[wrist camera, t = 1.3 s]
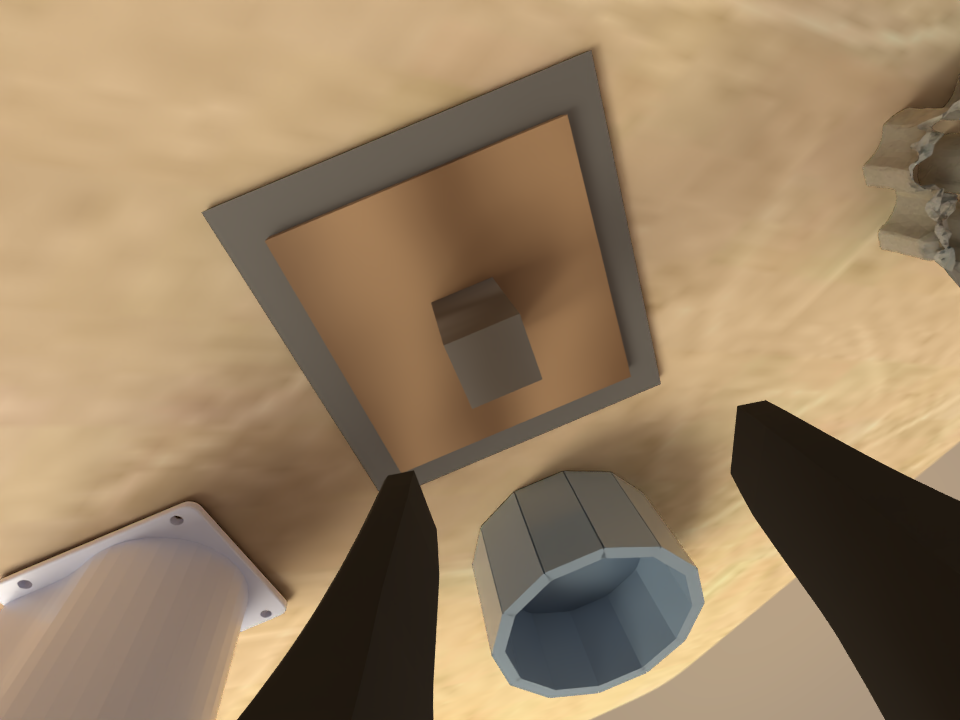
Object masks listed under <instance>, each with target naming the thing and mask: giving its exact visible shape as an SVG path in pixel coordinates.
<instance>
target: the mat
mask: <svg viewBox="0 0 960 720" xmlns="http://www.w3.org/2000/svg"><path fill="white" fill-rule="evenodd" d="M560 115H568V119H569V123H570V127H571V131H572V136H573V140H574V144H575V148H576V152H577V156H578V160H579V164H580V169H581V173H582V177H583V181H584V185H585V189H586V193H587V197H588V202H589V206H590V210H591V214H592V218H593V222H594V226H595V230H596V235H597V239H598V243H599V247H600V251H601V255H602V259H603V263H604V268H605V272H606V276H607V280H608V284H609V288H610V292H611V296H612V301H613V305H614V309H615V313H616V317H617V321H618V325H619V329H620V334H621V338H622V342H623V346H624V350H625V354H626V358H627V362H628V367H629V371H630V375H631V377H629V378H627V379H624V380H622V381H620V382H617V383H615V384H612V385H610V386H608V387H605V388H603V389H601V390H598V391H596V392H593V393H591V394H589V395H586V396H584V397H582V398H579V399H577V400H574V401H572V402H570V403H567V404H565V405H563V406H560V407H558V408H555V409H553V410H551V411H548V412H546V413H544V414H541V415H539V416H536V417H534V418H532V419H529V420H527V421H525V422H522V423H520V424H517V425H515V426H513V427H510V428H508V429H506V430H503V431H501V432H498V433H496V434H494V435H491V436H489V437H487V438H484V439H482V440H479V441H477V442H475V443H472V444H470V445H468V446H465V447H463V448H460V449H458V450H456V451H453V452H451V453H449V454H446V455H444V456H441V457H439V458H437V459H434V460H432V461H429V462H427V463H425V464H422V465H420V466H418V467H415V468H413V469H410V470H408V471H413V470H414V472H415V474H416V477H417V479H418V482H419V485H422V484H425V483H427V482H429V481H432V480H434V479H436V478H439V477H441V476H444V475H446V474H448V473H451V472H453V471H455V470H458V469H460V468H463V467H465V466H467V465H470V464H472V463H474V462H477V461H479V460H482V459H484V458H486V457H489V456H491V455H493V454H496V453H498V452H501V451H503V450H505V449H508V448H510V447H512V446H515V445H517V444H520V443H522V442H524V441H527V440H529V439H531V438H534V437H536V436H539V435H541V434H543V433H546V432H548V431H550V430H553V429H555V428H558V427H560V426H562V425H565V424H567V423H569V422H572V421H574V420H577V419H579V418H581V417H584V416H586V415H588V414H591V413H593V412H596V411H598V410H600V409H603V408H605V407H607V406H610V405H612V404H615V403H617V402H619V401H622V400H624V399H626V398H629V397H631V396H634V395H636V394H638V393H641V392H643V391H645V390H648V389H650V388H653V387H655V386H657V385H660V384H661V383H660V378H659V373H658V368H657V364H656V359H655V354H654V349H653V344H652V340H651V335H650V330H649V325H648V320H647V316H646V311H645V306H644V301H643V296H642V291H641V287H640V282H639V277H638V272H637V267H636V263H635V258H634V253H633V248H632V243H631V239H630V234H629V229H628V224H627V219H626V215H625V210H624V205H623V200H622V195H621V191H620V186H619V181H618V176H617V171H616V167H615V162H614V157H613V152H612V147H611V143H610V138H609V133H608V128H607V123H606V119H605V114H604V109H603V104H602V99H601V95H600V90H599V85H598V80H597V75H596V71H595V66H594V61H593V56H592V51H591V50H590V51H587V52H585V53H582V54H580V55H578V56H575V57H573V58H570V59H568V60H566V61H563V62H561V63H558V64H556V65H554V66H551V67H549V68H546V69H544V70H542V71H539V72H537V73H534V74H532V75H530V76H527V77H525V78H522V79H520V80H518V81H515V82H513V83H510V84H508V85H506V86H503V87H501V88H498V89H496V90H494V91H491V92H489V93H486V94H484V95H482V96H479V97H477V98H474V99H472V100H470V101H467V102H465V103H462V104H460V105H458V106H455V107H453V108H450V109H448V110H446V111H443V112H441V113H438V114H436V115H434V116H431V117H429V118H426V119H424V120H422V121H419V122H417V123H414V124H412V125H410V126H407V127H405V128H402V129H400V130H398V131H395V132H393V133H390V134H388V135H386V136H383V137H381V138H378V139H376V140H374V141H371V142H369V143H366V144H364V145H362V146H359V147H357V148H354V149H352V150H350V151H347V152H345V153H342V154H340V155H338V156H335V157H333V158H330V159H328V160H326V161H323V162H321V163H318V164H316V165H314V166H311V167H309V168H306V169H304V170H302V171H299V172H297V173H294V174H292V175H290V176H287V177H285V178H282V179H280V180H278V181H275V182H273V183H270V184H268V185H266V186H263V187H261V188H258V189H256V190H254V191H251V192H249V193H246V194H244V195H242V196H239V197H237V198H234V199H232V200H230V201H227V202H225V203H222V204H220V205H218V206H215V207H213V208H210V209H208V210H206V211H204V212H202V214H203V216H204V217H205V219H206V220H207V222H208V223H209V225H210V227H211V228H212V230H213V231H214V233H215V234H216V236H217V238H218V239H219V241H220V242H221V244H222V245H223V247H224V249H225V250H226V252H227V253H228V255H229V256H230V258H231V260H232V261H233V263H234V264H235V266H236V267H237V269H238V271H239V272H240V274H241V275H242V277H243V278H244V280H245V282H246V283H247V285H248V286H249V288H250V290H251V291H252V293H253V294H254V296H255V297H256V299H257V301H258V302H259V304H260V305H261V307H262V308H263V310H264V312H265V313H266V315H267V316H268V318H269V319H270V321H271V323H272V324H273V326H274V327H275V329H276V330H277V332H278V334H279V335H280V337H281V338H282V340H283V341H284V343H285V345H286V346H287V348H288V349H289V351H290V352H291V354H292V356H293V357H294V359H295V360H296V362H297V363H298V365H299V367H300V368H301V370H302V371H303V373H304V374H305V376H306V378H307V379H308V381H309V382H310V384H311V385H312V387H313V389H314V390H315V392H316V393H317V395H318V397H319V398H320V400H321V401H322V403H323V404H324V406H325V408H326V409H327V411H328V412H329V414H330V415H331V417H332V419H333V420H334V422H335V423H336V425H337V426H338V428H339V430H340V431H341V433H342V434H343V436H344V437H345V439H346V441H347V442H348V444H349V445H350V447H351V448H352V450H353V452H354V453H355V455H356V456H357V458H358V459H359V461H360V463H361V464H362V466H363V467H364V469H365V470H366V472H367V474H368V475H369V477H370V478H371V480H372V481H373V483H374V485H375V486H376V488H377V489H378V491H380V489H381V486H382V484H383V482H384V480H385V479H386V477H387V476H388V475H393V474H398V473H401V472H400V470H399V468H398V467H397V465H396V463H395V462H394V460H393V458H392V457H391V455H390V453H389V452H388V450H387V448H386V446H385V445H384V443H383V441H382V440H381V438H380V436H379V435H378V433H377V431H376V429H375V428H374V426H373V424H372V423H371V421H370V419H369V418H368V416H367V414H366V412H365V411H364V409H363V407H362V406H361V404H360V402H359V401H358V399H357V397H356V395H355V394H354V392H353V390H352V389H351V387H350V385H349V384H348V382H347V380H346V378H345V377H344V375H343V373H342V372H341V370H340V368H339V367H338V365H337V363H336V362H335V360H334V358H333V356H332V355H331V353H330V351H329V350H328V348H327V346H326V345H325V343H324V341H323V339H322V338H321V336H320V334H319V333H318V331H317V329H316V328H315V326H314V324H313V322H312V321H311V319H310V317H309V316H308V314H307V312H306V311H305V309H304V307H303V305H302V304H301V302H300V300H299V299H298V297H297V295H296V294H295V292H294V290H293V289H292V287H291V285H290V283H289V282H288V280H287V278H286V277H285V275H284V273H283V272H282V270H281V268H280V266H279V265H278V263H277V261H276V260H275V258H274V256H273V255H272V253H271V251H270V249H269V248H268V246H267V244H266V243H265V240H266V239H267V238H268V237H270V236H273V235H275V234H278V233H280V232H282V231H285V230H287V229H289V228H292V227H294V226H297V225H299V224H301V223H304V222H306V221H309V220H311V219H313V218H316V217H318V216H321V215H323V214H325V213H328V212H330V211H333V210H335V209H337V208H340V207H342V206H345V205H347V204H349V203H352V202H354V201H357V200H359V199H361V198H364V197H366V196H369V195H371V194H373V193H376V192H378V191H381V190H383V189H385V188H388V187H390V186H393V185H395V184H397V183H400V182H402V181H404V180H407V179H409V178H412V177H414V176H416V175H419V174H421V173H424V172H426V171H428V170H431V169H433V168H436V167H438V166H440V165H443V164H445V163H448V162H450V161H452V160H455V159H457V158H460V157H462V156H464V155H467V154H469V153H472V152H474V151H476V150H479V149H481V148H484V147H486V146H488V145H491V144H493V143H496V142H498V141H500V140H503V139H505V138H508V137H510V136H512V135H515V134H517V133H519V132H522V131H524V130H527V129H529V128H531V127H534V126H536V125H539V124H541V123H543V122H546V121H548V120H551V119H553V118H555V117H558V116H560ZM408 471H406V472H408Z"/></svg>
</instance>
